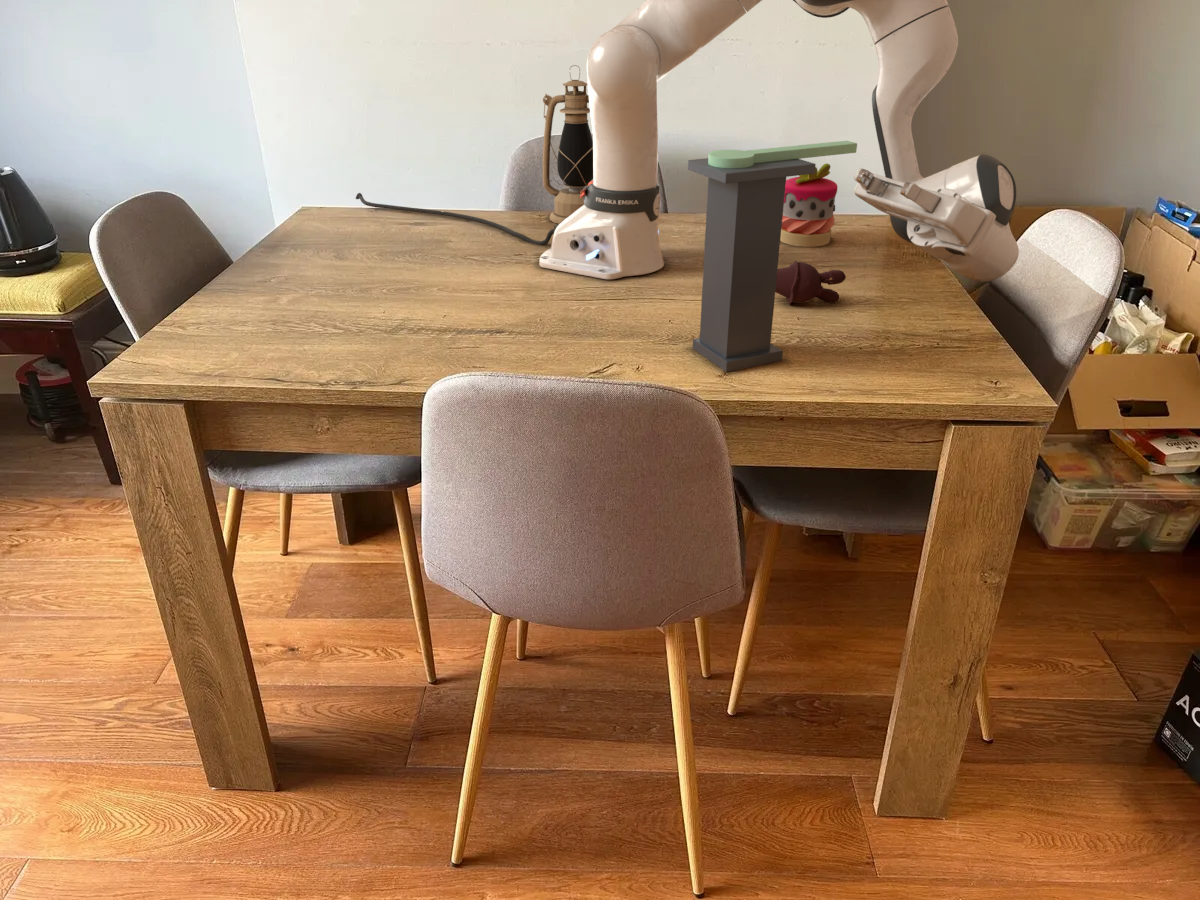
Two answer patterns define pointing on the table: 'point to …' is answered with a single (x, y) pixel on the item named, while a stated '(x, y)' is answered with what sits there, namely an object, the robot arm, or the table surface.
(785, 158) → the spoon
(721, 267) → the stand
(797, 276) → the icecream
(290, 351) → the table surface
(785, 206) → the cake
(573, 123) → the lantern
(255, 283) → the table surface
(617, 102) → the robot arm
